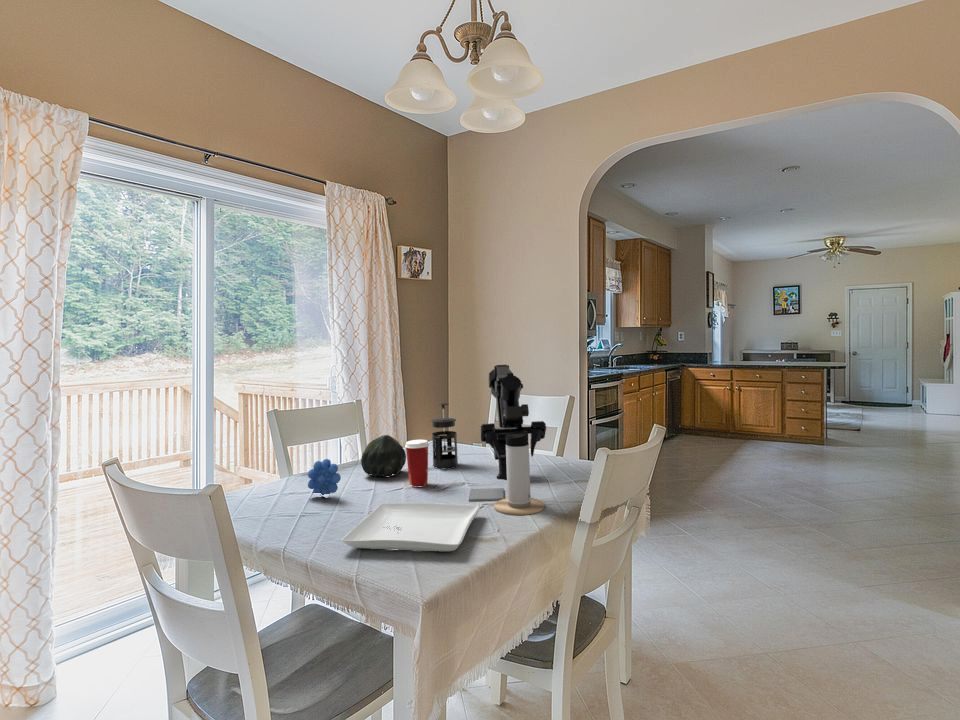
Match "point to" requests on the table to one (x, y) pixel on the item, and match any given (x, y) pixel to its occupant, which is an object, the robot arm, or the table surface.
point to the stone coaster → (486, 494)
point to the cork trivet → (506, 509)
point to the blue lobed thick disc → (324, 477)
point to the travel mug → (518, 469)
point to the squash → (383, 457)
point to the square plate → (413, 527)
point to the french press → (438, 457)
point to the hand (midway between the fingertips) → (516, 456)
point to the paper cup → (417, 462)
